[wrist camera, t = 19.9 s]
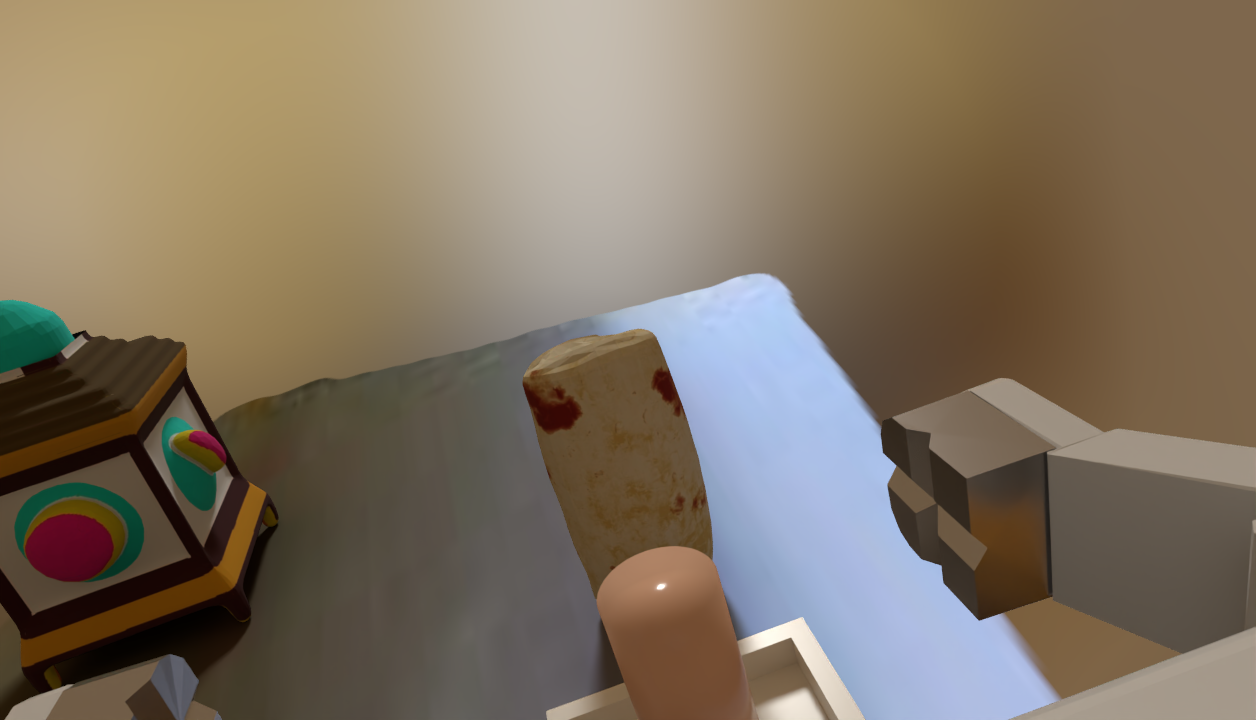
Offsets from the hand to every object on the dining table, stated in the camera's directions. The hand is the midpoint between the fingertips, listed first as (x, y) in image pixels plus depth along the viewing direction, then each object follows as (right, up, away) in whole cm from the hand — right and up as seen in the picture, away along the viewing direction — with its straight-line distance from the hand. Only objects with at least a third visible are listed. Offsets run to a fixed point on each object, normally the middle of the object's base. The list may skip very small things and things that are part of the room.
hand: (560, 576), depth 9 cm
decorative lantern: (-41, -20, +66) cm, 80 cm away
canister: (+6, -20, +32) cm, 38 cm away
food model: (+3, -14, +49) cm, 51 cm away
